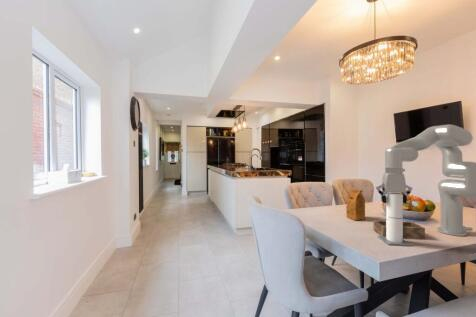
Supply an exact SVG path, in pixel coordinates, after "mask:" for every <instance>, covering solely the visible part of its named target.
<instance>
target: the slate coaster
mask: <svg viewBox="0 0 476 317" xmlns="http://www.w3.org/2000/svg"><path fill="white" fill-rule="evenodd" d="M377 238H378V239H380V240H381V241H382V242H383V243H384V244H386V245H388V246H399V247H401V246H402V247H413V244H412V243H410V242H408V241H407V240H405V238H403V242H401V243H397V242H392V241H389V240H387V239H386V236H381V235H378V236H377Z"/></svg>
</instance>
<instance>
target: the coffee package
mask: <svg viewBox="0 0 476 317" xmlns="http://www.w3.org/2000/svg"><path fill="white" fill-rule="evenodd" d="M362 193H363V190H361V189H353V188H352V187H351V188H350V189H349V192H348V196H347V198H346V210H345V211H346V214H345V215H346V218H349V219H350V220H353V221H360V220H361V221H364V220H366V199H365V197H364V195H363V194H362Z"/></svg>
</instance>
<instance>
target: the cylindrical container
mask: <svg viewBox="0 0 476 317" xmlns="http://www.w3.org/2000/svg"><path fill="white" fill-rule="evenodd" d="M385 196H386V203H385V204H386V205H385V207H386V210H385V211H386V213H385V216H386V220H385V221H386V239H387V240H389V241H392V242H397V243H401V242H403V239H404V238H403V222H404V219H403V218H404V215H403V214H404V203H403V194H402V193H393V192H388V193H387V194H386V195H385Z"/></svg>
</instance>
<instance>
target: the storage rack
mask: <svg viewBox="0 0 476 317" xmlns="http://www.w3.org/2000/svg"><path fill="white" fill-rule="evenodd" d="M372 222H373V223H372V227H373V228H372V229H373V231H374V232H375V233H376V234H378V236H386V220H372ZM403 239H418V240H419V239H421V240H425V239H426V227H423V226H421V225H420V224H418V223H417V224H416V223H415V222H414V221H413V222H412V221H403Z"/></svg>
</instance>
